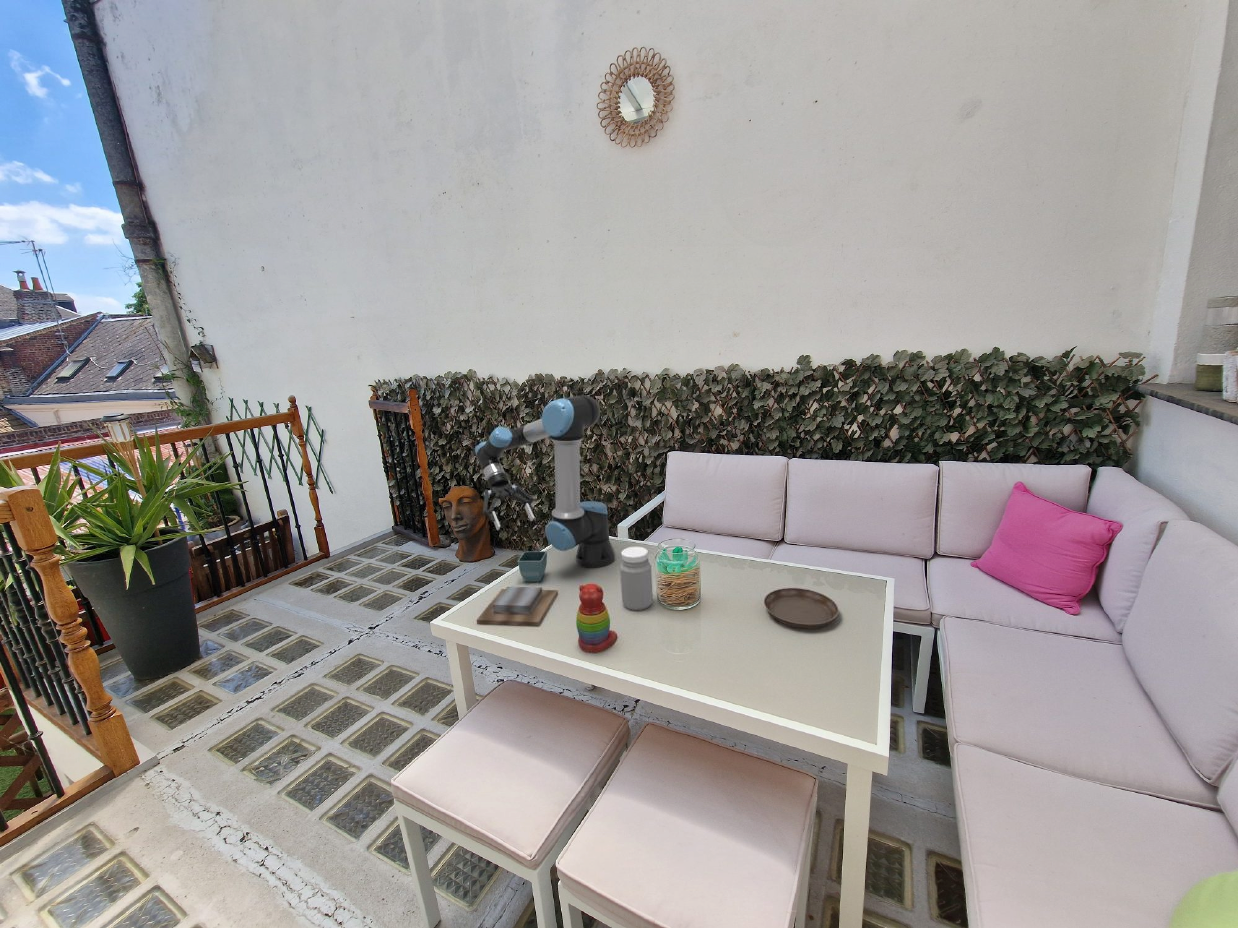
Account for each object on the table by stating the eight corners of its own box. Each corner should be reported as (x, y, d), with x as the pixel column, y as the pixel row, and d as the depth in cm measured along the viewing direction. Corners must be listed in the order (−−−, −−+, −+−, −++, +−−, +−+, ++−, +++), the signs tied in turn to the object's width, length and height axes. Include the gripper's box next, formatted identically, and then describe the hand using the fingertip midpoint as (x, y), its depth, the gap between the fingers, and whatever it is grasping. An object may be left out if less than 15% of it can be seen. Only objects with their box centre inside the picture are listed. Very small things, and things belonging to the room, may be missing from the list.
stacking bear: (619, 634, 145) (615, 578, 141) (607, 655, 135) (602, 595, 131) (584, 630, 148) (579, 574, 144) (570, 650, 139) (564, 591, 135)
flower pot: (549, 573, 188) (547, 550, 186) (543, 584, 179) (541, 560, 177) (526, 573, 189) (523, 551, 186) (519, 584, 180) (517, 561, 178)
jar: (630, 614, 155) (627, 560, 151) (617, 601, 164) (613, 549, 160) (658, 606, 159) (655, 553, 155) (644, 593, 168) (641, 543, 163)
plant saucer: (848, 610, 150) (849, 600, 149) (821, 642, 135) (821, 631, 135) (782, 590, 164) (782, 581, 163) (751, 618, 149) (751, 607, 149)
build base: (558, 594, 171) (556, 581, 170) (539, 626, 152) (537, 612, 151) (502, 592, 175) (500, 580, 174) (477, 624, 156) (475, 610, 155)
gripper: (523, 476, 207) (543, 520, 198) (463, 489, 193) (482, 537, 185) (527, 466, 201) (548, 510, 193) (466, 478, 187) (485, 527, 179)
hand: (516, 523), depth 189 cm, fingers open, 13 cm apart
